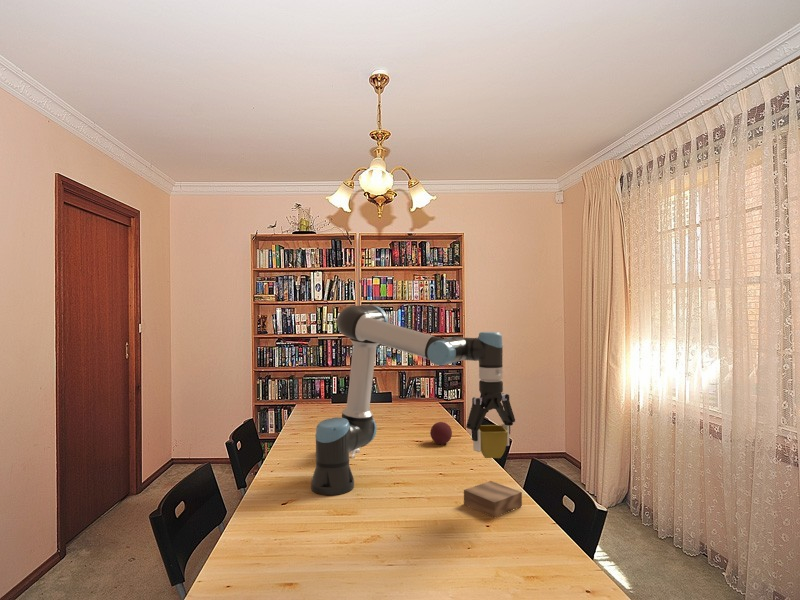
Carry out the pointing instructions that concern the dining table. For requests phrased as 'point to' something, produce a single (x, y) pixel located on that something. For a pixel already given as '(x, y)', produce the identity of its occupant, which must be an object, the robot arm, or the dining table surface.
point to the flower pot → (493, 440)
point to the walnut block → (492, 498)
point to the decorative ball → (441, 432)
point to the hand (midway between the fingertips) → (491, 447)
